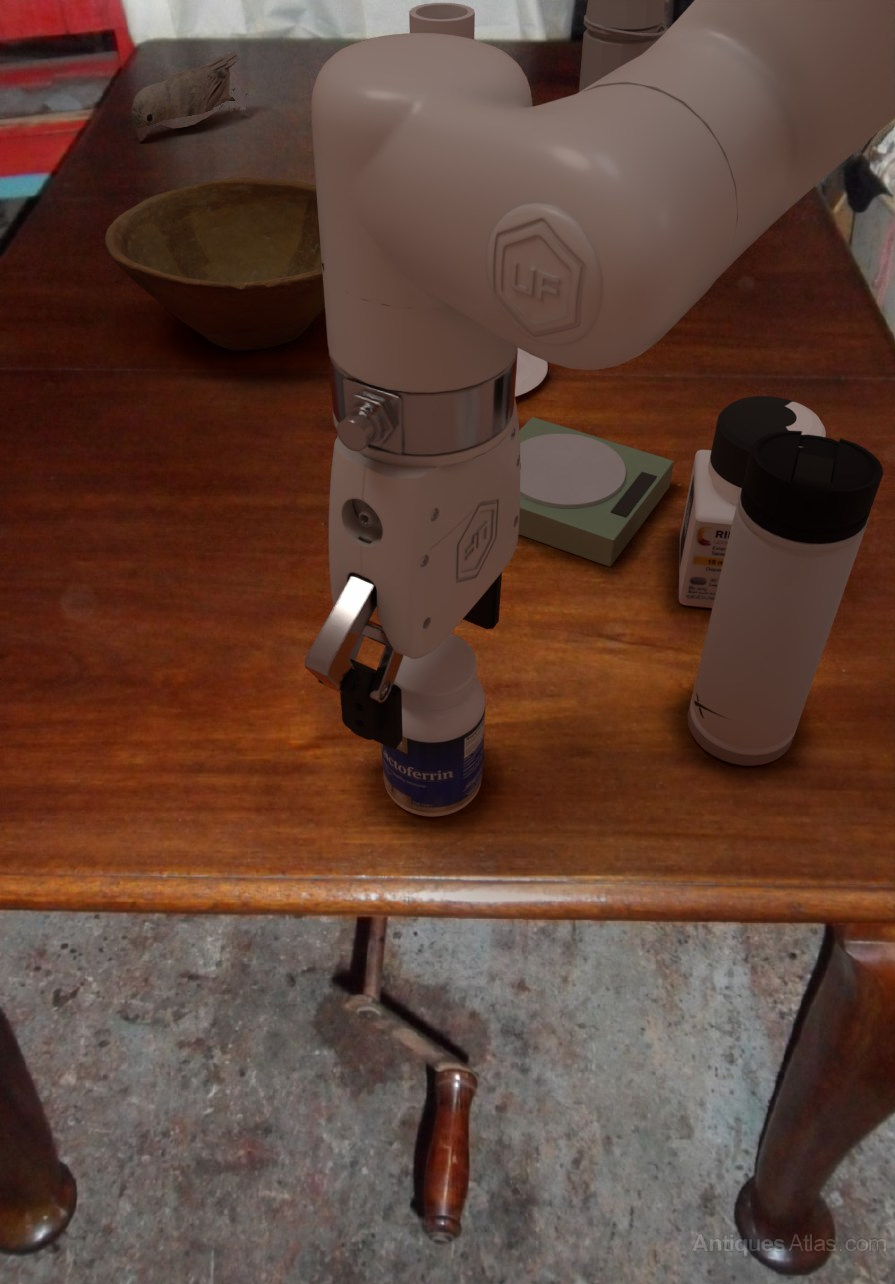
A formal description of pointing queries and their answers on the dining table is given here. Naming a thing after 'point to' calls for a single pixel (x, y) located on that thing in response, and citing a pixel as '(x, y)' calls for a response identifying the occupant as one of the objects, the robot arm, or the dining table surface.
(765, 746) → the travel mug
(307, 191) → the bowl
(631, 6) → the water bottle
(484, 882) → the dining table surface
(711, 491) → the container
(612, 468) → the scale
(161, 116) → the decorative bird
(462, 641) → the pill bottle
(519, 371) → the candle holder
